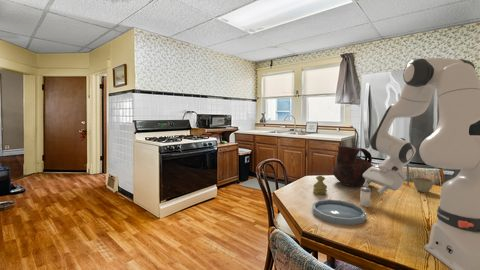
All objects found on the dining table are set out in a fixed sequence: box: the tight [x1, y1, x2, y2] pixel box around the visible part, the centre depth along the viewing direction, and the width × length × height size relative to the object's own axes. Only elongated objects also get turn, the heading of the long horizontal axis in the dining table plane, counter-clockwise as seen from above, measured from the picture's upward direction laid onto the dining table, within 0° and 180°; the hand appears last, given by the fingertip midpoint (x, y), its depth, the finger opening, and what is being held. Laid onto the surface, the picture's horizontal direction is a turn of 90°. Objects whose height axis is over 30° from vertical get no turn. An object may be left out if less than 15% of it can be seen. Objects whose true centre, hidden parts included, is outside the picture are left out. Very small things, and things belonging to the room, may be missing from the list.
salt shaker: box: [312, 175, 328, 196], centre depth 138 cm, size 7×7×10 cm
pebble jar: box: [359, 186, 372, 208], centre depth 120 cm, size 5×5×8 cm
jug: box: [332, 145, 374, 187], centre depth 154 cm, size 25×25×25 cm
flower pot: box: [412, 176, 435, 194], centre depth 142 cm, size 10×10×7 cm
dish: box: [311, 198, 367, 226], centre depth 110 cm, size 22×22×2 cm
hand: (371, 189), depth 120 cm, fingers open, 8 cm apart
